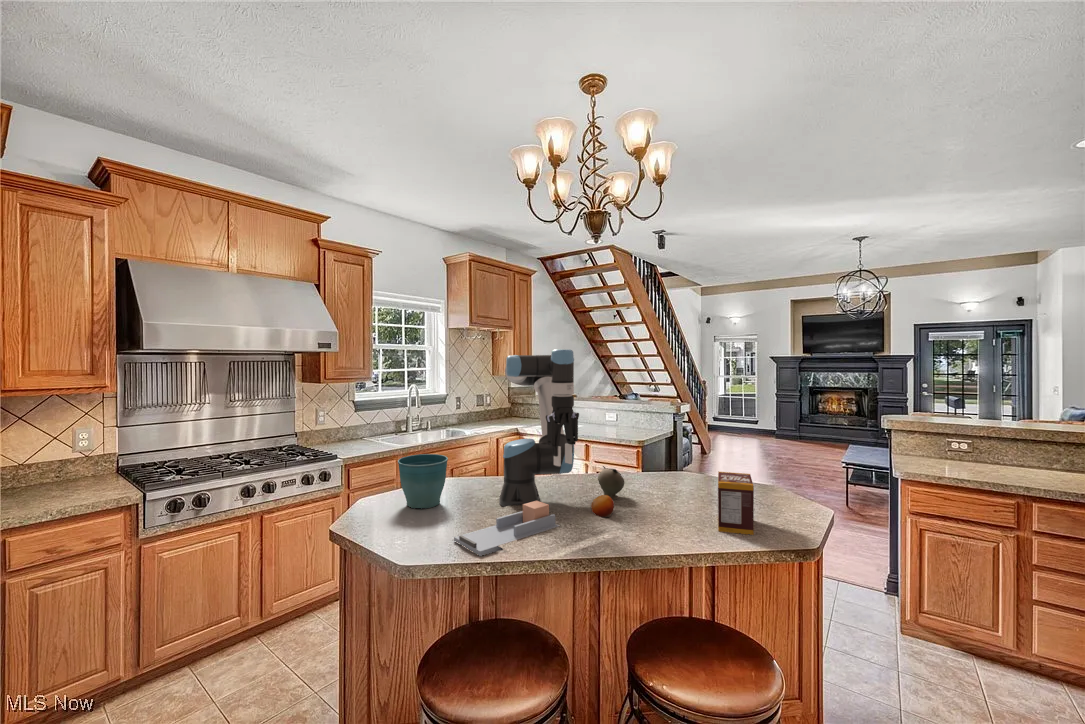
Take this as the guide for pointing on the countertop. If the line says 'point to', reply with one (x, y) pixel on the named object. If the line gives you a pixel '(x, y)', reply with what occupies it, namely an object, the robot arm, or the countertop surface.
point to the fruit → (602, 506)
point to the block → (534, 511)
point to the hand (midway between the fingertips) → (562, 464)
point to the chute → (504, 532)
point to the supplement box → (735, 503)
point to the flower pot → (423, 479)
